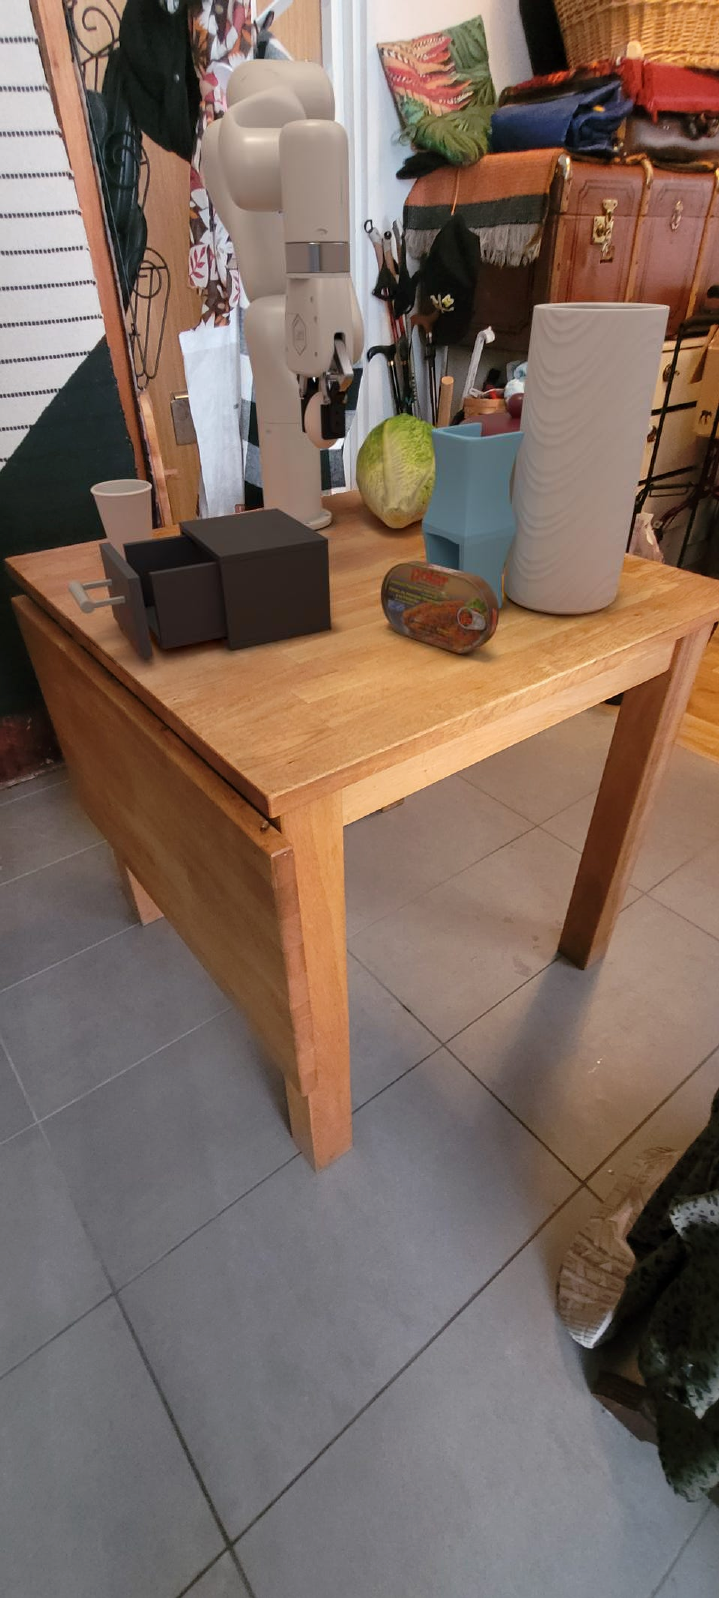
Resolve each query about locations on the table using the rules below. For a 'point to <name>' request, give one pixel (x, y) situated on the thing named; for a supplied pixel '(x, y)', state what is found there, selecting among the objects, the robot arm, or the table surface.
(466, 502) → the vase
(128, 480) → the dixie cup
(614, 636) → the table surface
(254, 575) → the cabinet
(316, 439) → the egg
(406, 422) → the lettuce
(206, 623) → the drawer
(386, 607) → the tin
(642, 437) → the vase
